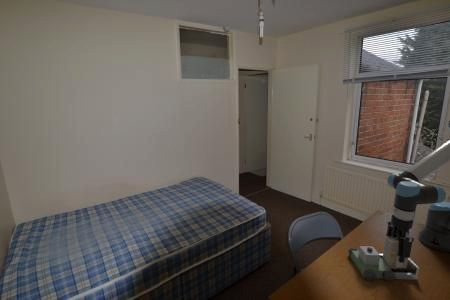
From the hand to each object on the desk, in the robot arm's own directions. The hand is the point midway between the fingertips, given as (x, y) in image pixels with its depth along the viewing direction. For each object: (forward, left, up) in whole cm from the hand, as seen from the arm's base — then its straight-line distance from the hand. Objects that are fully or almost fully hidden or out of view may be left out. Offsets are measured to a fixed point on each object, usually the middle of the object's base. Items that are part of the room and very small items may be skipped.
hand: (394, 262), depth 105 cm
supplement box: (0, 0, -2) cm, 2 cm away
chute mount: (0, 0, -3) cm, 3 cm away
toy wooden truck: (+11, 0, -3) cm, 11 cm away
